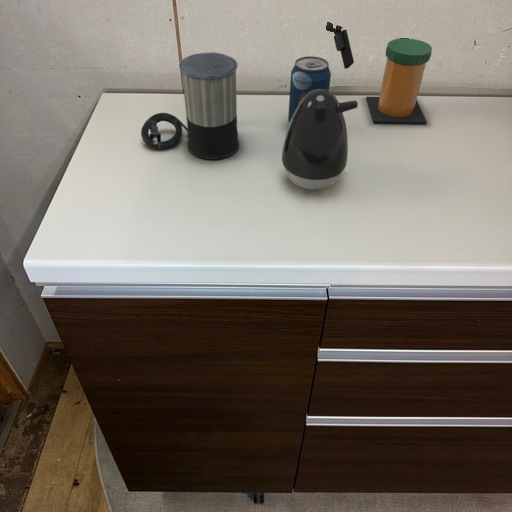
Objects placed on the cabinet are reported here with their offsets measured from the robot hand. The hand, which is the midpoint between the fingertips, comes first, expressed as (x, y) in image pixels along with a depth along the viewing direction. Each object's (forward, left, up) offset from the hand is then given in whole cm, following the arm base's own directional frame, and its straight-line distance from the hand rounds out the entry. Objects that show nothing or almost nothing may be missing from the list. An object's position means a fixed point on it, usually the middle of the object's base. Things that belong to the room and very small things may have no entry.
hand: (379, 61), depth 94 cm
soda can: (+19, +8, -7) cm, 22 cm away
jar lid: (0, +8, +6) cm, 10 cm away
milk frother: (+41, +7, -7) cm, 42 cm away
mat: (0, +8, -7) cm, 11 cm away
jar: (0, +8, -6) cm, 10 cm away
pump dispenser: (+25, +24, -7) cm, 35 cm away
